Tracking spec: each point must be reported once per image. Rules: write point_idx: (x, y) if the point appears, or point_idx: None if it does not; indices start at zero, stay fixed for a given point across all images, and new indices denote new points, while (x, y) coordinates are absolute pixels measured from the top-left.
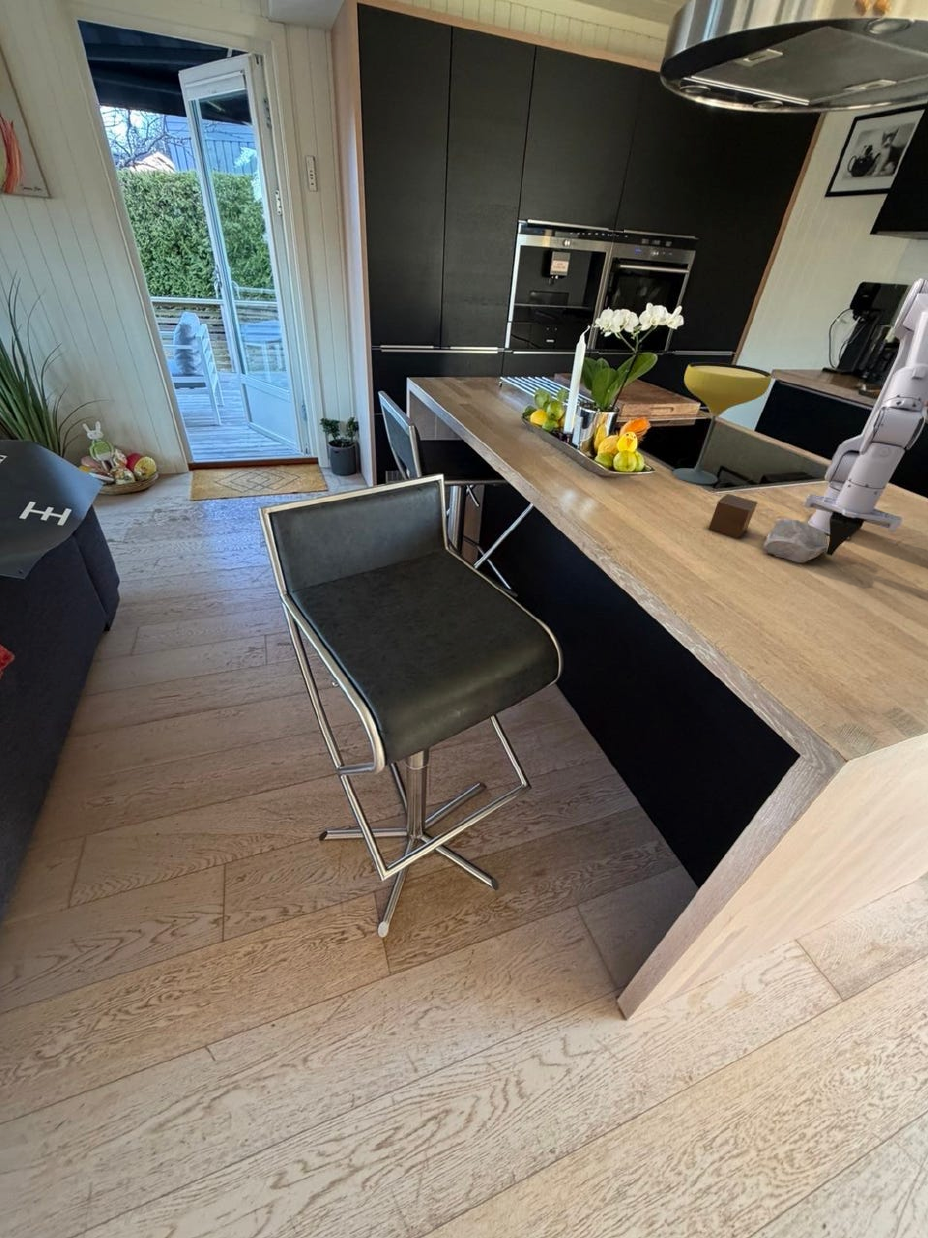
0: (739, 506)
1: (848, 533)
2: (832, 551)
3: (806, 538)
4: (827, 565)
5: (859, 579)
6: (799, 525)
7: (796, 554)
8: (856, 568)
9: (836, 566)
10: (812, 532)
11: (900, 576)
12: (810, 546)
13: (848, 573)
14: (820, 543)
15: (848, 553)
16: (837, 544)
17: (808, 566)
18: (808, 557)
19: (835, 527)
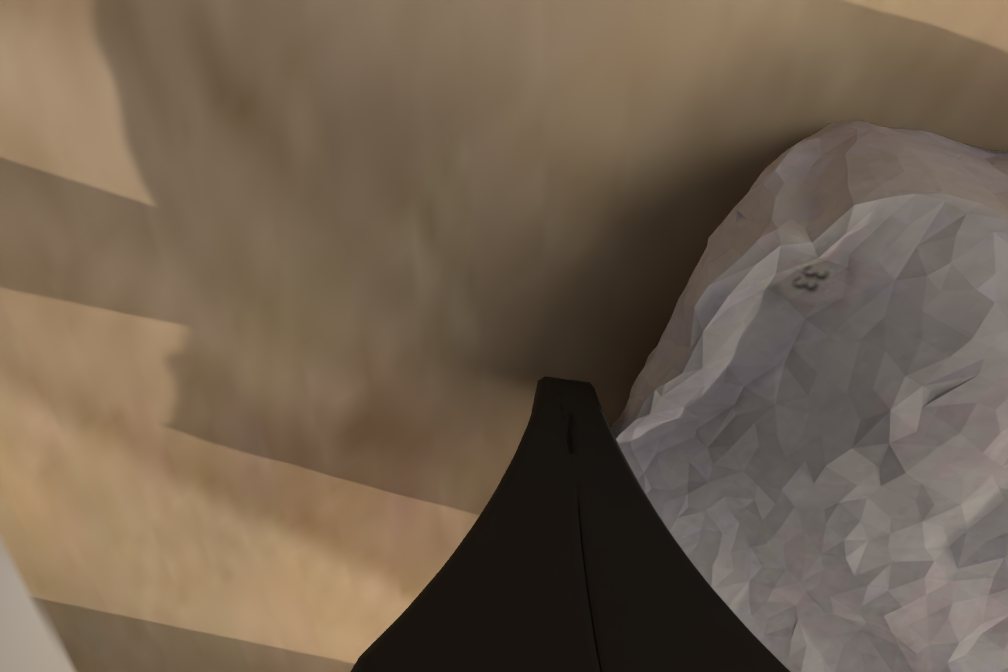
0: None
1: (477, 594)
2: (553, 399)
3: (858, 482)
4: (545, 270)
5: (245, 137)
6: (911, 668)
7: (967, 159)
8: (316, 356)
9: (468, 298)
10: (754, 621)
11: (30, 404)
12: (823, 345)
13: (356, 213)
14: (665, 499)
15: (406, 552)
16: (542, 457)
17: (742, 121)
18: (818, 158)
19: (699, 655)
